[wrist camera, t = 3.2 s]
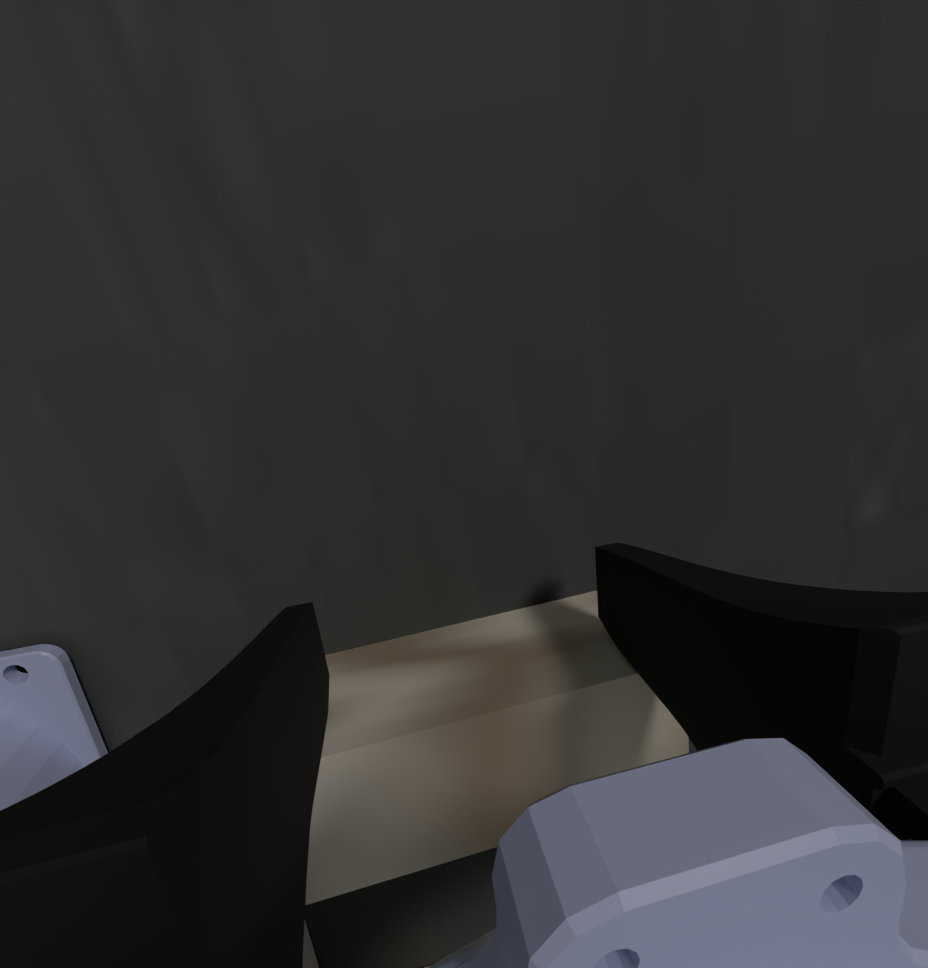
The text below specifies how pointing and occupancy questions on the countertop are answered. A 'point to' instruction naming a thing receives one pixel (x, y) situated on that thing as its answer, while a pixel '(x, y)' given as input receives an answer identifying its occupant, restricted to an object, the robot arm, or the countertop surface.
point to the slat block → (470, 737)
